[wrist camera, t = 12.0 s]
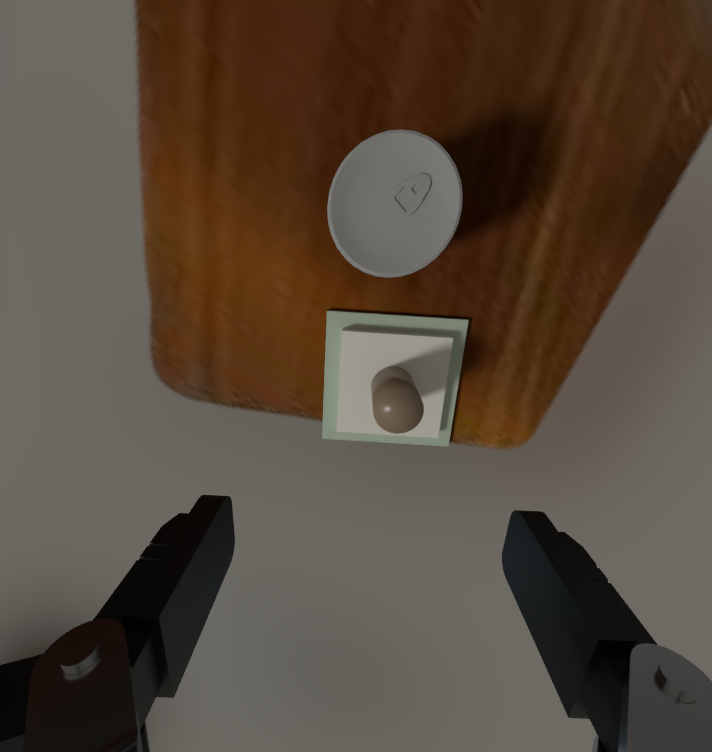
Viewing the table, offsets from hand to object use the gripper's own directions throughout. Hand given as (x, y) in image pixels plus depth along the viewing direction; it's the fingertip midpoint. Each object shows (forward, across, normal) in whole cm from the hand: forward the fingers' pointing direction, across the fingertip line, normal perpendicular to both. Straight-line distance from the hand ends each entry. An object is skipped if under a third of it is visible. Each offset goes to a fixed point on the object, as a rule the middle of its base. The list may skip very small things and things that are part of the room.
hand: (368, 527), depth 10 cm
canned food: (+25, -1, -10) cm, 27 cm away
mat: (+25, -3, +4) cm, 25 cm away
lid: (+24, -3, +4) cm, 25 cm away
